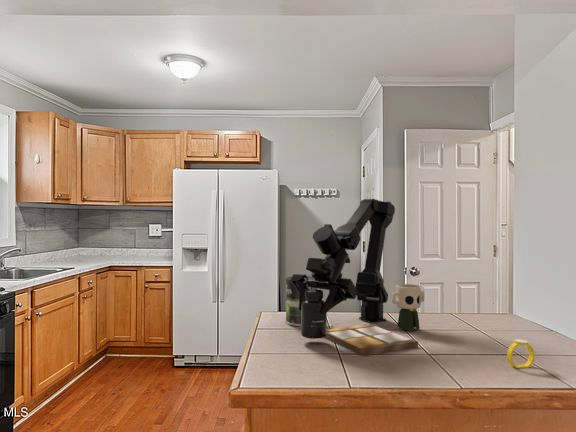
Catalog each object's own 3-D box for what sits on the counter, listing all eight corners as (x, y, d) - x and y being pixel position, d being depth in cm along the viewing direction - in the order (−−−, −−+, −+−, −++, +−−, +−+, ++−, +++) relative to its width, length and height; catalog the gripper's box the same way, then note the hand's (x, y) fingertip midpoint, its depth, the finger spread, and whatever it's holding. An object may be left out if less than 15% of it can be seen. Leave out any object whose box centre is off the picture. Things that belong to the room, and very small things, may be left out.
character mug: (399, 334, 129) (399, 288, 129) (386, 328, 135) (385, 285, 135) (431, 331, 132) (431, 286, 132) (417, 325, 139) (417, 283, 139)
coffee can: (287, 327, 137) (287, 280, 138) (284, 319, 148) (284, 276, 148) (321, 326, 139) (321, 280, 139) (315, 318, 149) (315, 275, 149)
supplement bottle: (317, 340, 115) (317, 293, 115) (296, 336, 119) (295, 291, 119) (331, 334, 121) (331, 289, 121) (310, 331, 125) (310, 287, 125)
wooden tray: (371, 329, 134) (371, 323, 134) (418, 347, 116) (417, 339, 116) (321, 336, 127) (321, 329, 127) (362, 355, 109) (362, 348, 109)
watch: (527, 365, 102) (529, 339, 102) (536, 369, 100) (538, 342, 100) (504, 365, 101) (505, 338, 101) (512, 369, 98) (514, 342, 99)
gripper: (293, 245, 129) (269, 289, 120) (351, 248, 117) (329, 297, 109) (309, 270, 135) (287, 313, 126) (366, 274, 124) (346, 323, 115)
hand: (310, 311), depth 119 cm, fingers closed on supplement bottle, 7 cm apart
